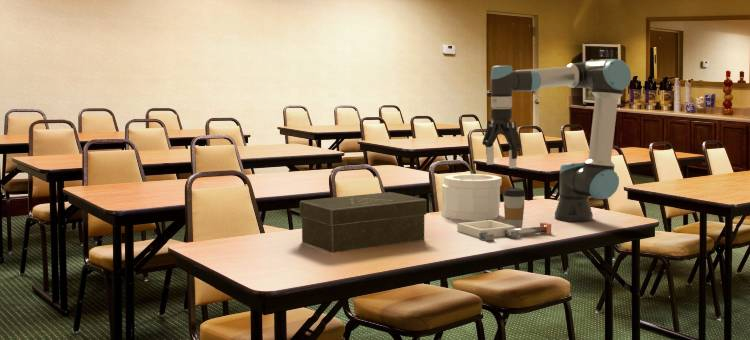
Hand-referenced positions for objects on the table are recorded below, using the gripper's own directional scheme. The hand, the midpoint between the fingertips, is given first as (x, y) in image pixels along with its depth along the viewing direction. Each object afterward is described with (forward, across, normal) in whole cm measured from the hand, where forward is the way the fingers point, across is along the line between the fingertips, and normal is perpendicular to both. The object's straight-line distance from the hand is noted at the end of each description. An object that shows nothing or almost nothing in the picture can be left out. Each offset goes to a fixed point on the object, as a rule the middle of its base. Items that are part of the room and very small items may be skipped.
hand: (501, 166), depth 291 cm
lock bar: (+25, +8, +6) cm, 27 cm away
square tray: (+25, -3, -4) cm, 26 cm away
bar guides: (+25, +8, -6) cm, 27 cm away
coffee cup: (+26, -6, +11) cm, 28 cm away
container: (+26, -38, +13) cm, 48 cm away
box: (+25, -12, -51) cm, 58 cm away
